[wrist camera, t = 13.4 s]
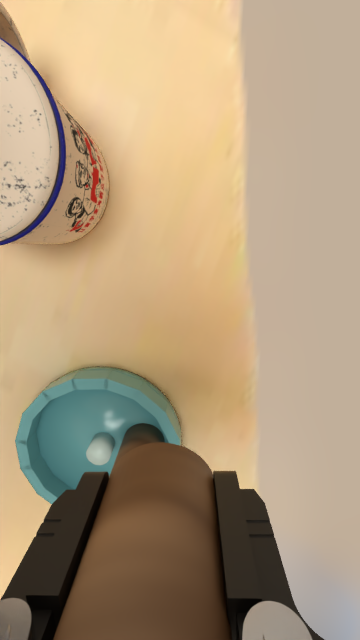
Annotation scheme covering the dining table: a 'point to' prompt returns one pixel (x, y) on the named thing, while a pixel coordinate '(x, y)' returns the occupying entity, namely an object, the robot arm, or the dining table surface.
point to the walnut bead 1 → (139, 438)
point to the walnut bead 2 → (151, 555)
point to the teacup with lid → (42, 156)
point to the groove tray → (86, 426)
